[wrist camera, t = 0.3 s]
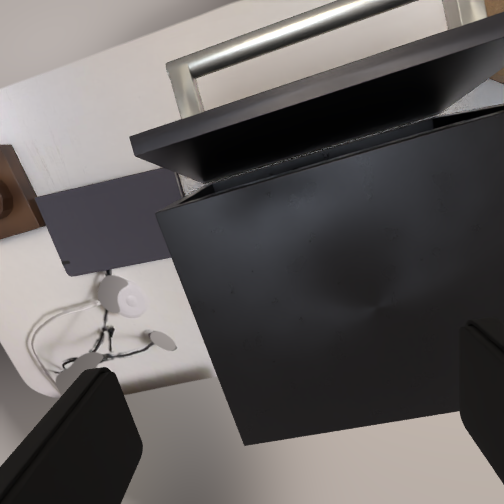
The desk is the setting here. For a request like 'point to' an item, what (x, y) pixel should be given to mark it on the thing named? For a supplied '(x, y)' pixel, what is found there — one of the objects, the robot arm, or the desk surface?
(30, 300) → the desk surface
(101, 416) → the robot arm
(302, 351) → the oven
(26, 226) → the control block
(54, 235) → the notebook
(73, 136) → the desk surface
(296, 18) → the oven door
